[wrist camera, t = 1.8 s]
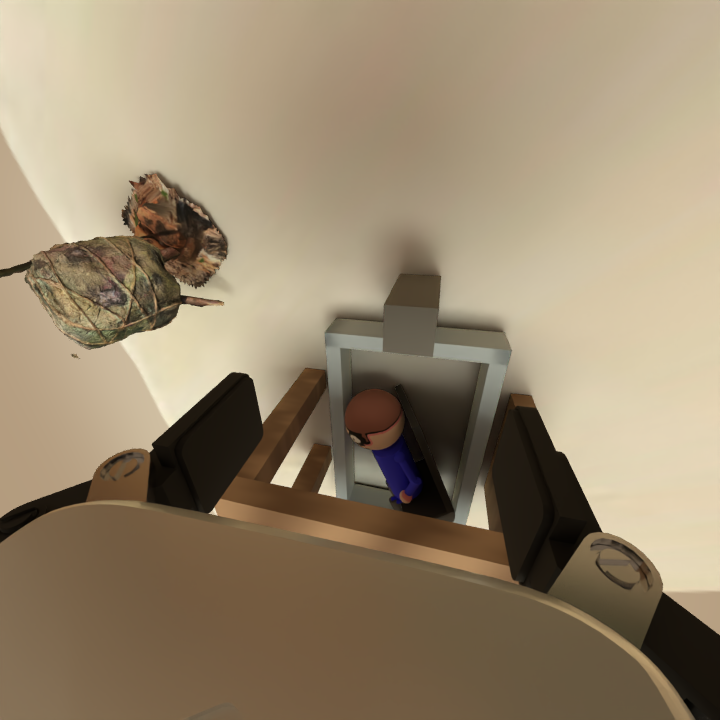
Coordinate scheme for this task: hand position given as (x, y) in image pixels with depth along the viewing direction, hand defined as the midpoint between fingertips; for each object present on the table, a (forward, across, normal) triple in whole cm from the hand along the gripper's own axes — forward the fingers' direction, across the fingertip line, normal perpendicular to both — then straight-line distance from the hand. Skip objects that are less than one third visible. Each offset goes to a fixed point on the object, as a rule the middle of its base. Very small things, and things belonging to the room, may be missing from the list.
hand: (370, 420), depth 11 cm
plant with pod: (+16, +19, -3) cm, 25 cm away
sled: (+15, -1, +11) cm, 19 cm away
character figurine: (+16, -1, +14) cm, 21 cm away
